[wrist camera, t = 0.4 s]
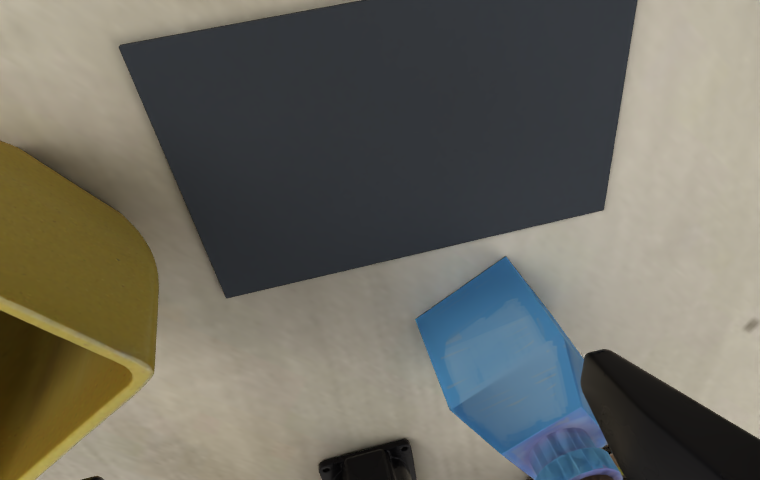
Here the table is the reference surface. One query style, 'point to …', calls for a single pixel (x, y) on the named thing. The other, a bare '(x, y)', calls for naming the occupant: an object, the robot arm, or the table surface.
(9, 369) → the flower pot
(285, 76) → the desk mat
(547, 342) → the perfume bottle
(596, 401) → the robot arm
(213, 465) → the table surface
